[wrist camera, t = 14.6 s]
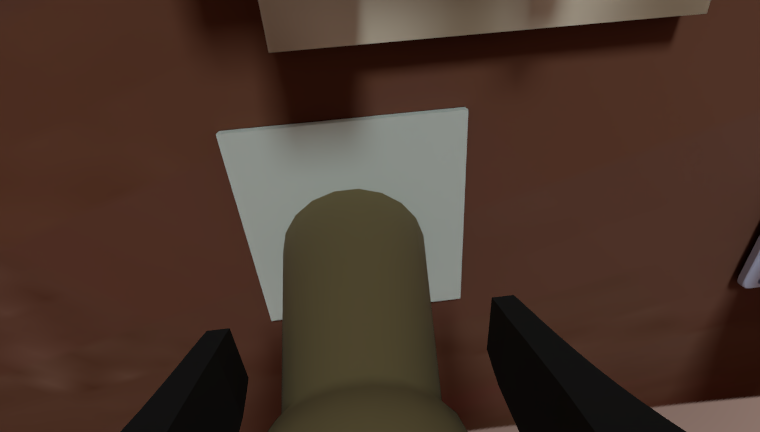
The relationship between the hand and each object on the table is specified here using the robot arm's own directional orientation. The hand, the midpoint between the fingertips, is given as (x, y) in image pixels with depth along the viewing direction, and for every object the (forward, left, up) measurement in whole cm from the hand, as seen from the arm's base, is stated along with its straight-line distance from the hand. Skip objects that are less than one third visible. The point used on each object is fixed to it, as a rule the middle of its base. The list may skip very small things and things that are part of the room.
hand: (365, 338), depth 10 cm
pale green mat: (0, 0, -6) cm, 6 cm away
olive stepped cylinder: (0, +1, -6) cm, 6 cm away
